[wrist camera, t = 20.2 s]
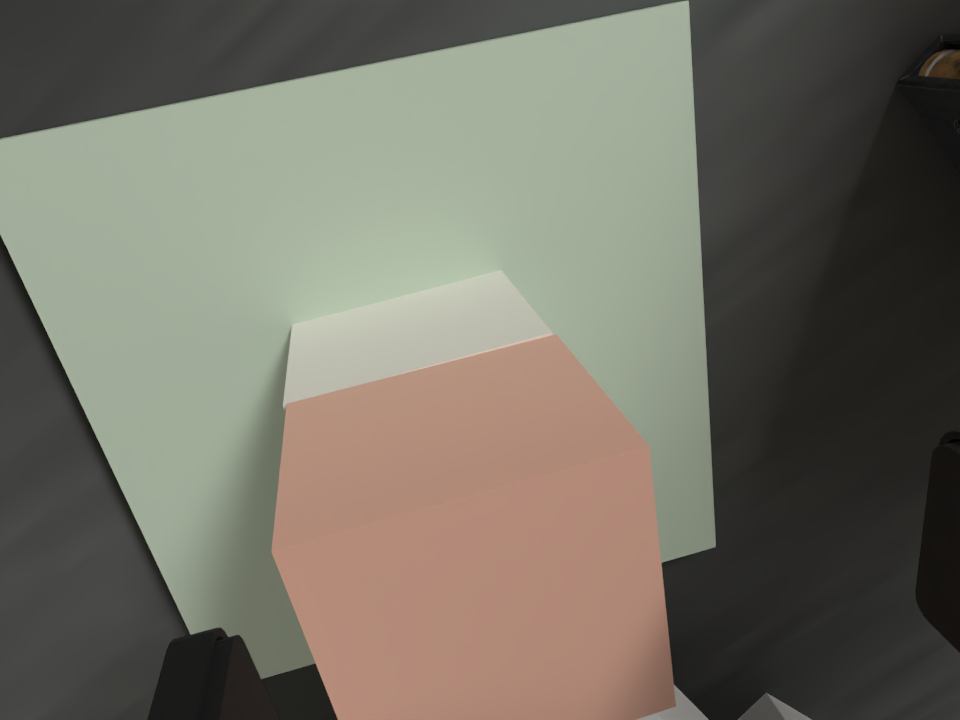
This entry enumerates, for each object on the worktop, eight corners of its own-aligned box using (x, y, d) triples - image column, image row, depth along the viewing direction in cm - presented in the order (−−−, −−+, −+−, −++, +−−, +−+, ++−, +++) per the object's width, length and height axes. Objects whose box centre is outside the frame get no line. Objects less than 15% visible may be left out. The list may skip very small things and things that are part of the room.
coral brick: (556, 334, 16) (649, 445, 11) (589, 545, 18) (676, 706, 14) (286, 403, 15) (271, 551, 11) (359, 613, 18) (371, 804, 13)
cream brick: (501, 270, 20) (551, 332, 16) (536, 447, 23) (588, 544, 18) (292, 325, 20) (282, 405, 15) (351, 500, 22) (359, 614, 18)
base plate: (671, 2, 19) (688, 0, 18) (702, 530, 27) (715, 546, 26) (-22, 143, 17) (-41, 148, 17) (221, 668, 25) (217, 691, 24)
